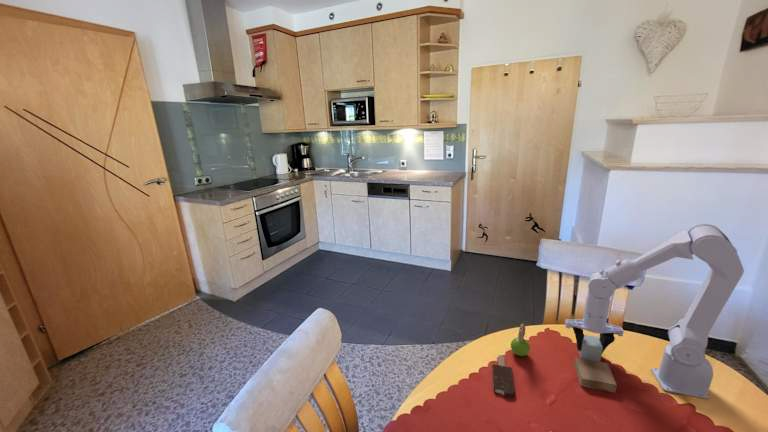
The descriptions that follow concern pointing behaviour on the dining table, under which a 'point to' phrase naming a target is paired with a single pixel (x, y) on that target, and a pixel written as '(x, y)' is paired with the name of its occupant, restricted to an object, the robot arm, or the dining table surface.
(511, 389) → the ice cream bar
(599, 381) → the walnut block
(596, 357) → the slate-blue cube
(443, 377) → the dining table surface
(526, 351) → the green candy apple
